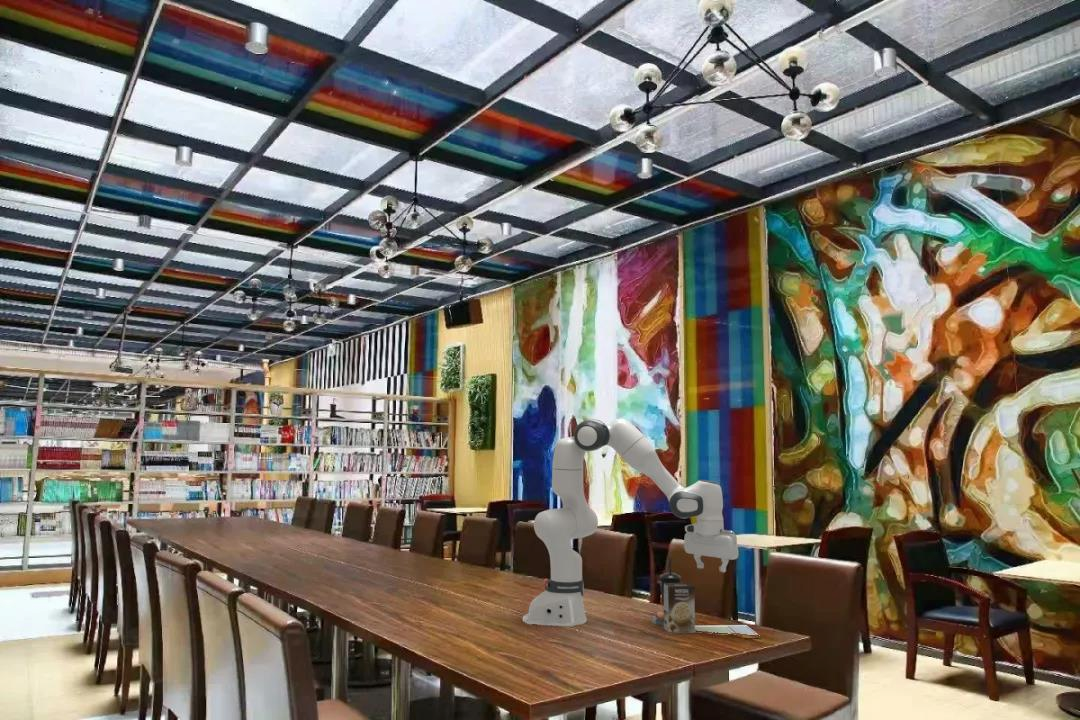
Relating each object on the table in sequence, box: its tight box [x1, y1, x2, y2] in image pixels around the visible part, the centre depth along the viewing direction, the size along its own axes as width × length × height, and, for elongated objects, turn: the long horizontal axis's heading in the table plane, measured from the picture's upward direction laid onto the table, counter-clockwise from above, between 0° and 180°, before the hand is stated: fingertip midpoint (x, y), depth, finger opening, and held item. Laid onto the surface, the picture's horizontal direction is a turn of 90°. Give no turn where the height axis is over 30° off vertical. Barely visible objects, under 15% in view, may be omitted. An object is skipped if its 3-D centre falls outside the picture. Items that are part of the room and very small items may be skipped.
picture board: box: [695, 624, 759, 635], centre depth 246 cm, size 20×15×1 cm
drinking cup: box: [659, 557, 682, 606], centre depth 273 cm, size 8×8×20 cm
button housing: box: [651, 615, 664, 627], centre depth 255 cm, size 6×6×3 cm
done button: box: [656, 611, 664, 619], centre depth 255 cm, size 3×3×2 cm
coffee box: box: [663, 582, 696, 634], centre depth 246 cm, size 9×6×16 cm
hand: (711, 570), depth 248 cm, fingers open, 8 cm apart
